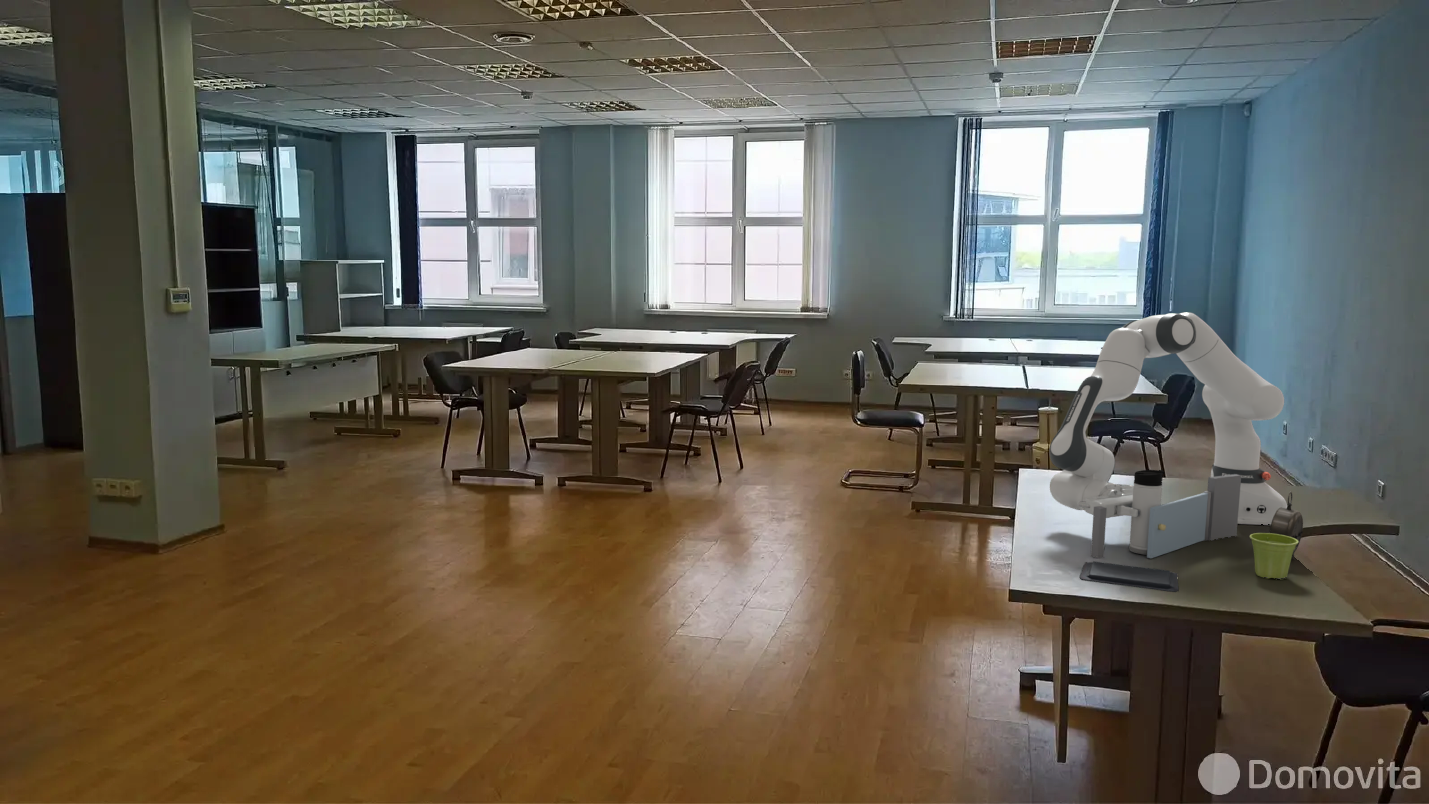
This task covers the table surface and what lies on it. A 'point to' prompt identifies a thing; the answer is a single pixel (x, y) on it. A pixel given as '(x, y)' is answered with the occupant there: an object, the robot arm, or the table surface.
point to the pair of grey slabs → (1220, 515)
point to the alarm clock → (1288, 523)
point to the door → (1178, 524)
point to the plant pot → (1272, 554)
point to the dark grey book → (1130, 576)
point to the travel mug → (1144, 506)
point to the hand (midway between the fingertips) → (1149, 511)
